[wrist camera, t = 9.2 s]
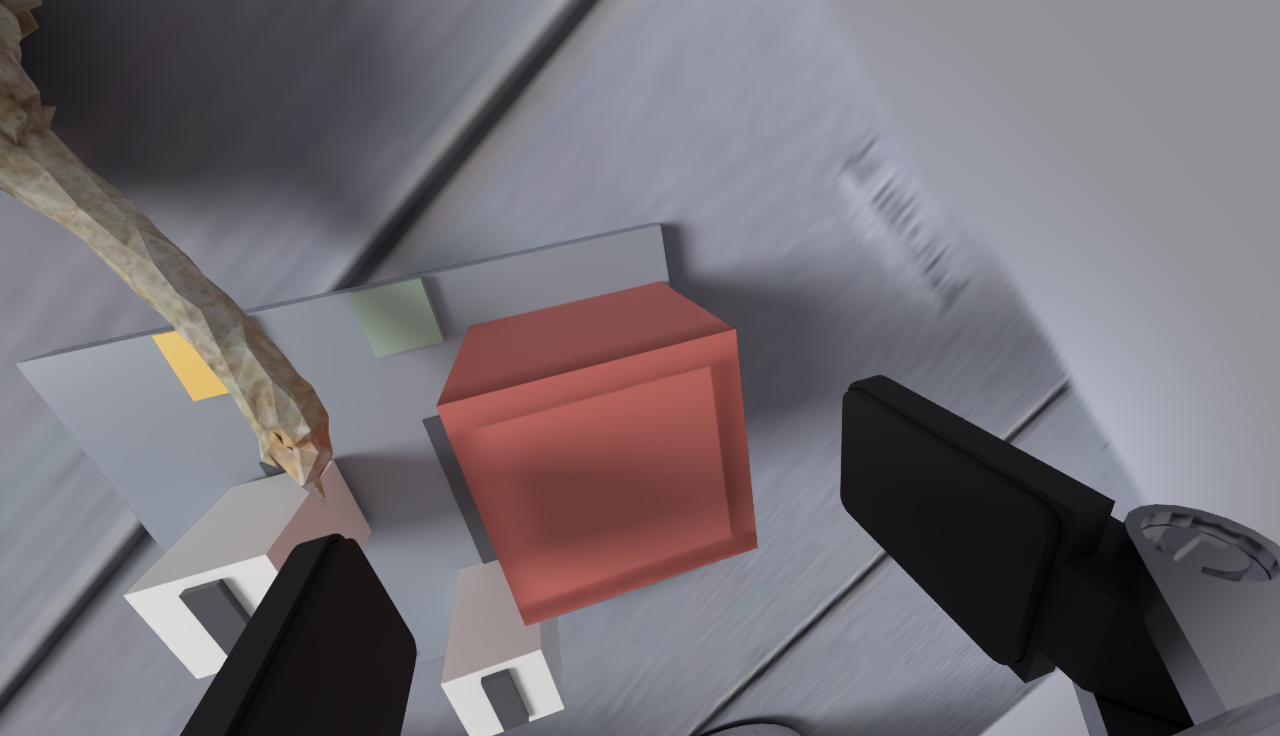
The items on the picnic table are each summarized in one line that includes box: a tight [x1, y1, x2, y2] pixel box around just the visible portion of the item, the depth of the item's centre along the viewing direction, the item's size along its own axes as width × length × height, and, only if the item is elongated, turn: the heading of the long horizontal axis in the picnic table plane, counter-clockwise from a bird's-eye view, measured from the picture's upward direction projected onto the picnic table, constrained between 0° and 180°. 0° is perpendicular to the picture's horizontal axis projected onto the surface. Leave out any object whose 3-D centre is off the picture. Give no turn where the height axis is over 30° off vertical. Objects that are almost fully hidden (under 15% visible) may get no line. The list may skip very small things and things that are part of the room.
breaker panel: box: [16, 223, 713, 736], centre depth 15 cm, size 15×18×6 cm
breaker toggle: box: [123, 460, 371, 679], centre depth 13 cm, size 3×3×4 cm
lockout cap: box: [436, 281, 758, 627], centre depth 13 cm, size 6×6×6 cm
